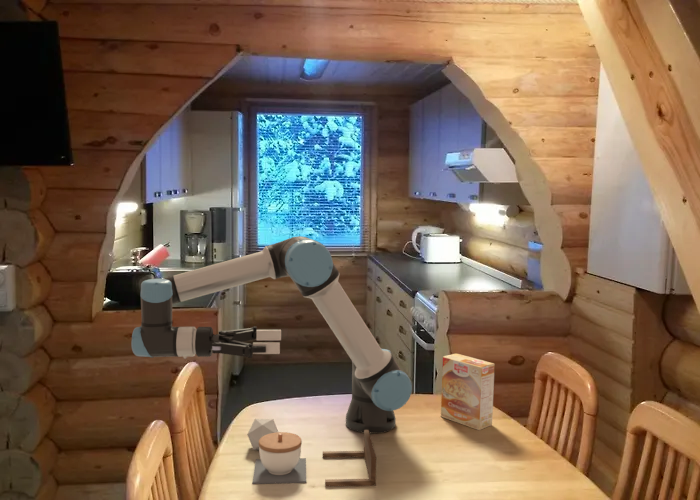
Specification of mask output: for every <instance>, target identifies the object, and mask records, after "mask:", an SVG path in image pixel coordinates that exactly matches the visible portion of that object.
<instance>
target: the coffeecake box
mask: <svg viewBox="0 0 700 500" xmlns="http://www.w3.org/2000/svg"><path fill="white" fill-rule="evenodd" d="M495 366H496V365H495V363H494V362H489V361H486V360H483V359H479V358H475V357H472V356H468V355H463V354H460V353H452V354H449V355H448V354H447V355H444V356H442V372H441V398H440V399H441V400H440V401H441V402H440V418H443V419H447V420H450V421H452V422H455V423H458V424H461V425H463V426H467V427H469V428H471V429H475V430H477V431H482V430H483V429H485V428H488V427H491V426H493V412H494V411H493V409H494V408H493V407H494V387H495V386H494V385H495Z"/></svg>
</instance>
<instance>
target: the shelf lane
mask: <svg viewBox="0 0 700 500" xmlns="http://www.w3.org/2000/svg"><path fill="white" fill-rule="evenodd" d="M372 441H373V440H372V438H371V433H369V430H364V433H363V450H338V451H337V450H336V451H334V450H333V451H331V450H330V451H328V450H327V451H326V450H325V451H324V450H323V451H322V458H323V459H325V458H326V459H327V458H329V459H330V458H333V459H334V458H363V459H364V463H365V466H366V470H367V471H366V472H367V475H368V478H338V479H337V478H335V479H332V478H330V479H325V480H324V487H326V488H327V487H330V488H331V487H360V486H361V487H362V486H363V487H364V486H365V487H367V486H369V487H370V486H377V455H376V452H375V448H374V445H373V442H372Z"/></svg>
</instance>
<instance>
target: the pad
mask: <svg viewBox="0 0 700 500" xmlns="http://www.w3.org/2000/svg"><path fill="white" fill-rule="evenodd" d="M254 463H255V464H254V469H253V475H252V484H253V485H259V484H260V485H262V484H263V485H265V484H266V485H267V484H269V485H271V484H307V458H304V457H302V458H301V457H300V459H299V461H298V464H297V465H296V466H295V467H294V468H293V469H292V471H291V472H290V473H288V474H285V475H273V474H271V473H269V472H268V470H267V469H266V468H265V467H264V466H263V464H262V462H261V459H260V458H256V459H255V462H254Z"/></svg>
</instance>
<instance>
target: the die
mask: <svg viewBox="0 0 700 500" xmlns="http://www.w3.org/2000/svg"><path fill="white" fill-rule="evenodd" d="M276 432H279V431H278V427H277V425H276V422H275V420H274V418H255V419H254V420H253V422H252V424H251V426H250V428H249V431H248V432H247V437H248V440H249V442H250V444H251V447H252V450H253V451H259V440H260V438H261V437H263V436H265V435H267V434H270V433H276Z"/></svg>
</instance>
